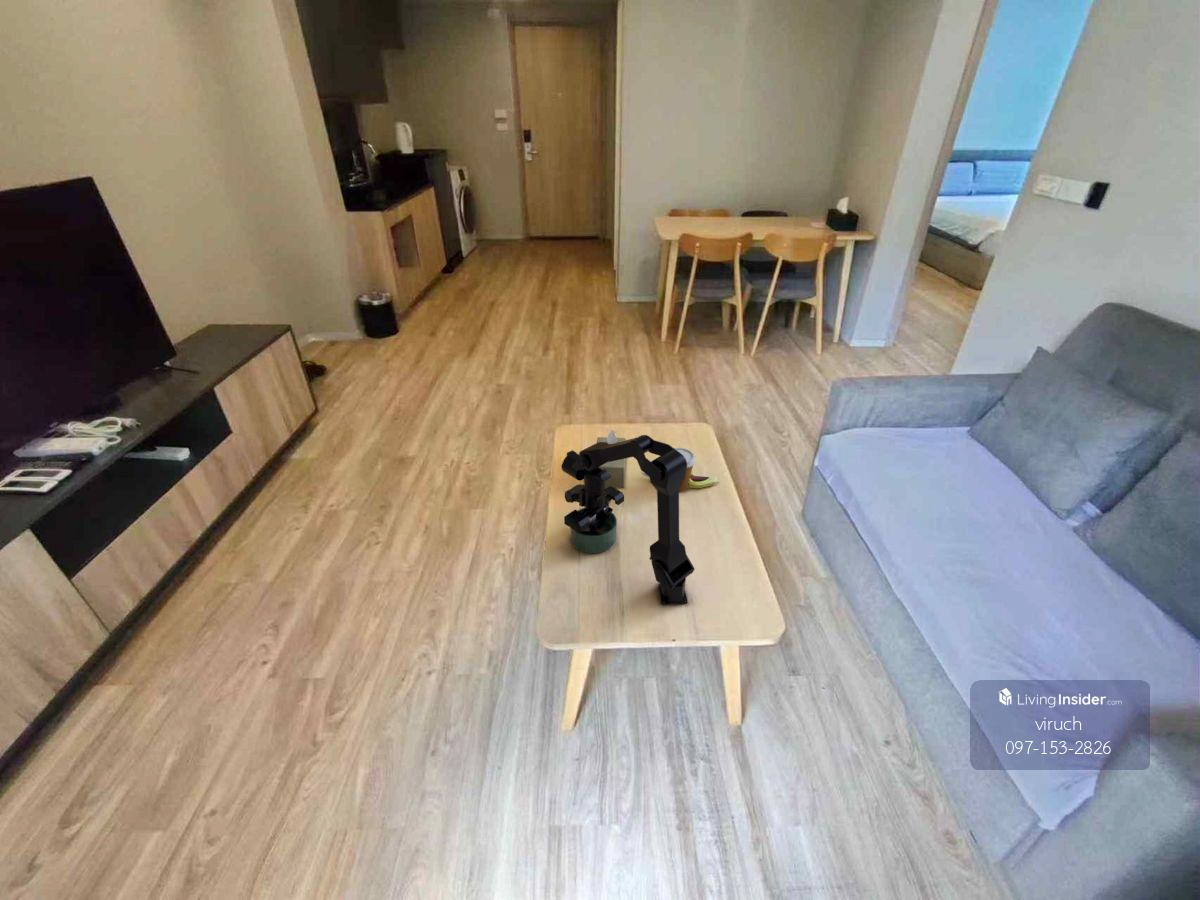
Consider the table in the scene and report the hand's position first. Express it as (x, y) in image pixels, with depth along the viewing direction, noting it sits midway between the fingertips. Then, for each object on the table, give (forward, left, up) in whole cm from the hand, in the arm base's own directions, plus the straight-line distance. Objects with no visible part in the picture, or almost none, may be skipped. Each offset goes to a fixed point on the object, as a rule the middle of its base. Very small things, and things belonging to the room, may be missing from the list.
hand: (595, 531), depth 151 cm
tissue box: (+34, -6, -3) cm, 34 cm away
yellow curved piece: (+27, -28, -3) cm, 39 cm away
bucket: (+1, +1, -3) cm, 3 cm away
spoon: (0, 0, -1) cm, 1 cm away
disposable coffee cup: (+24, -28, +3) cm, 37 cm away
